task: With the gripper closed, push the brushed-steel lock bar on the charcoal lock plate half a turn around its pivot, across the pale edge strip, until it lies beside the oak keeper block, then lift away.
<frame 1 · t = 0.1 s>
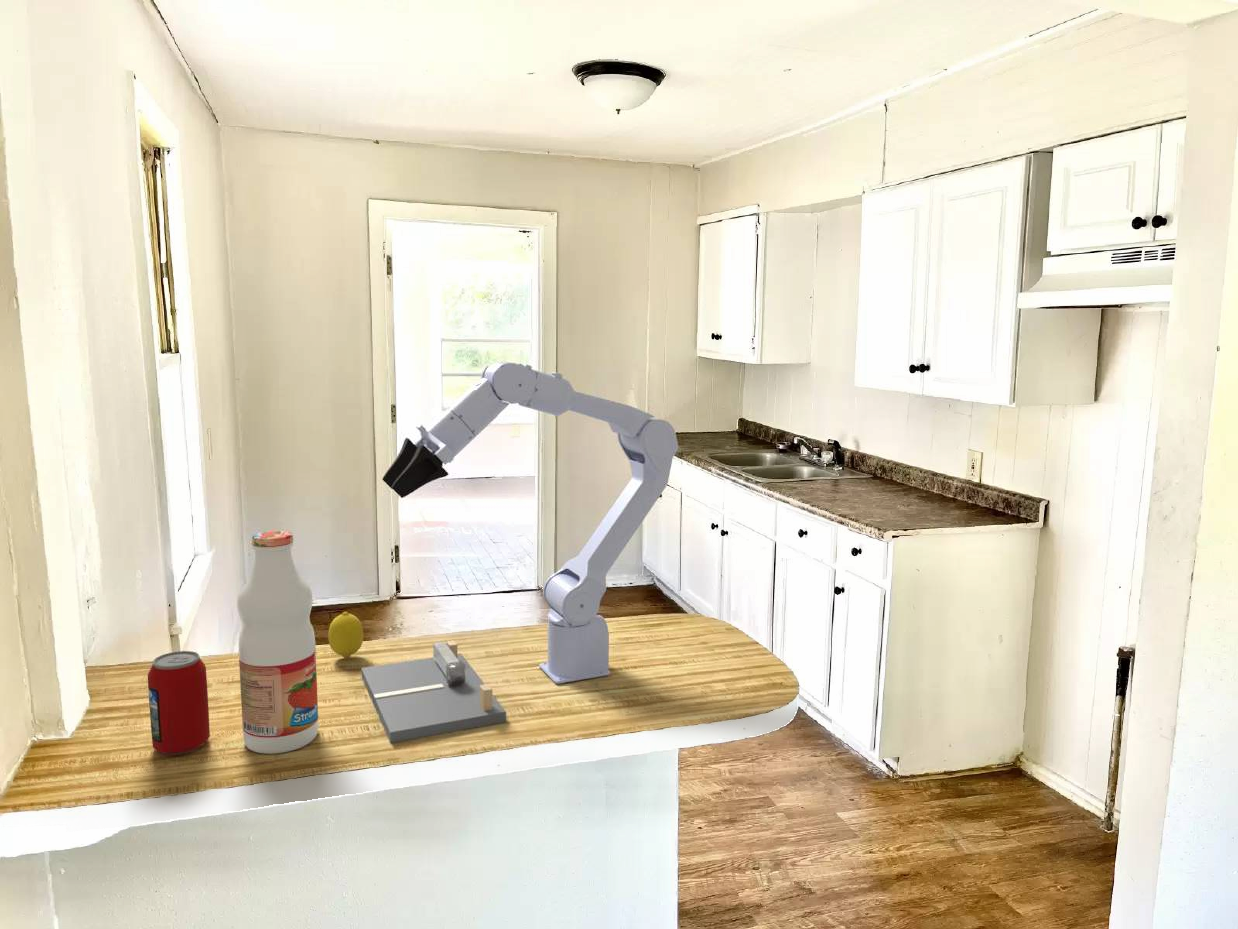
hand: (391, 488, 123), 32 cm above the countertop, tool tilted 50°, fingers open, 7 cm apart
lemon: (346, 659, 143), on the countertop
fruit juice: (281, 740, 115), on the countertop
beverage can: (182, 747, 113), on the countertop
lock plate: (429, 698, 129), on the countertop
lock bar: (448, 662, 134), point 3 cm above the countertop, hinge at 0.0°
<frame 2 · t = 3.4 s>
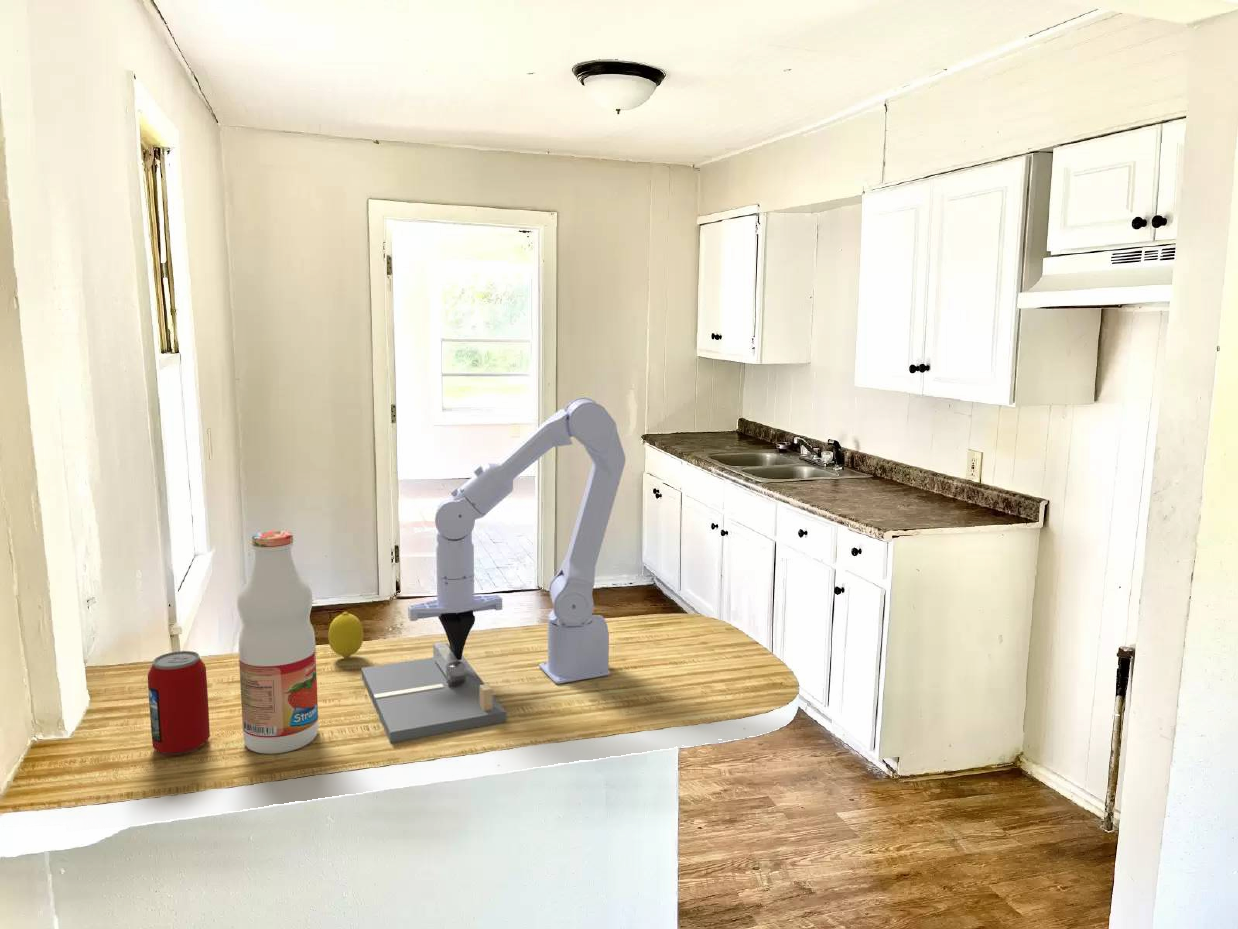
hand: (456, 658, 136), 3 cm above the countertop, tool pointing down, fingers closed
lock bar: (448, 662, 134), point 3 cm above the countertop, hinge at 0.1°, touching gripper
everything else where it was.
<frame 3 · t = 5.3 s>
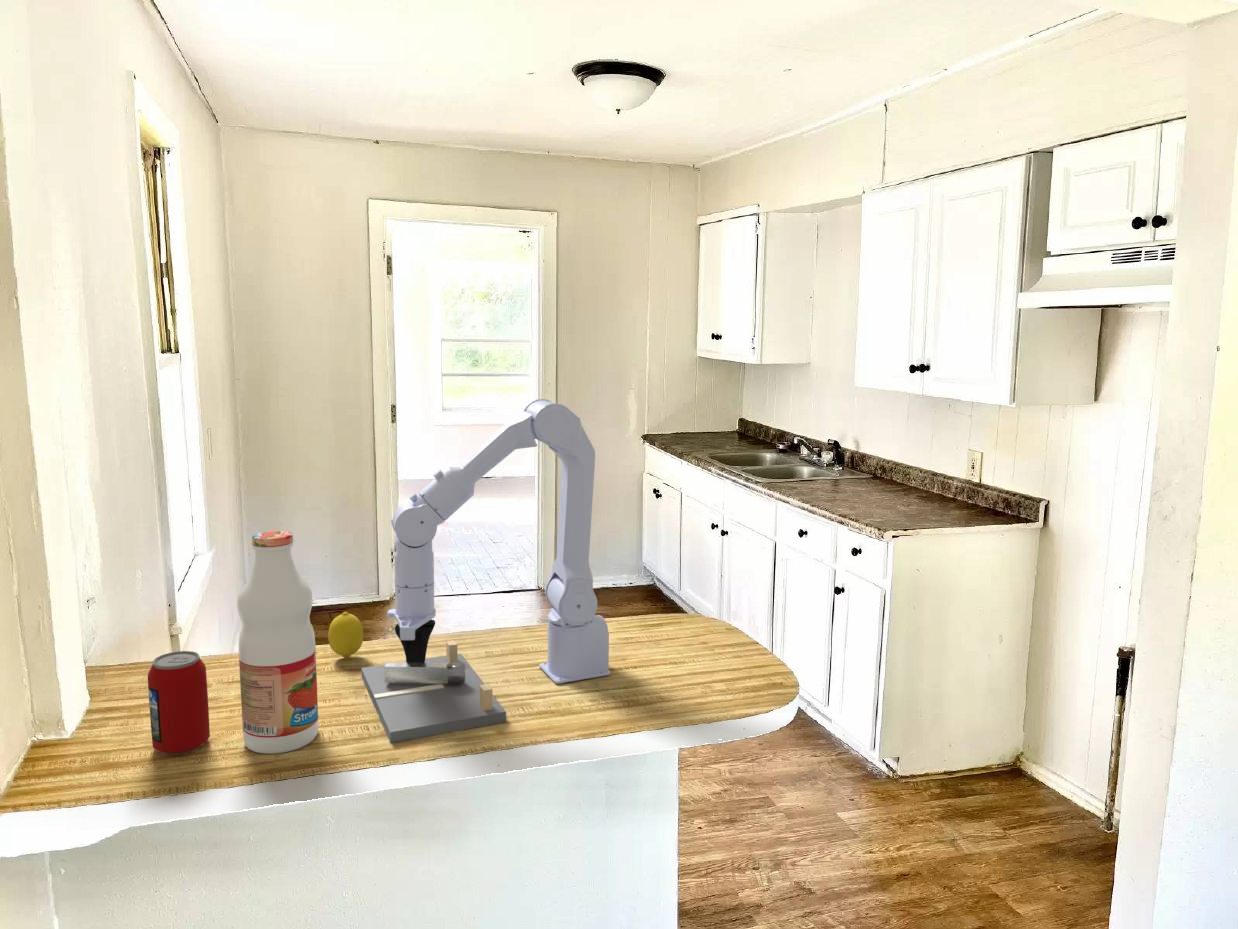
hand: (415, 669, 131), 3 cm above the countertop, tool pointing down, fingers closed, pressing on lock bar
lock bar: (425, 672, 130), point 3 cm above the countertop, hinge at 64.9°, touching gripper
everything else where it was.
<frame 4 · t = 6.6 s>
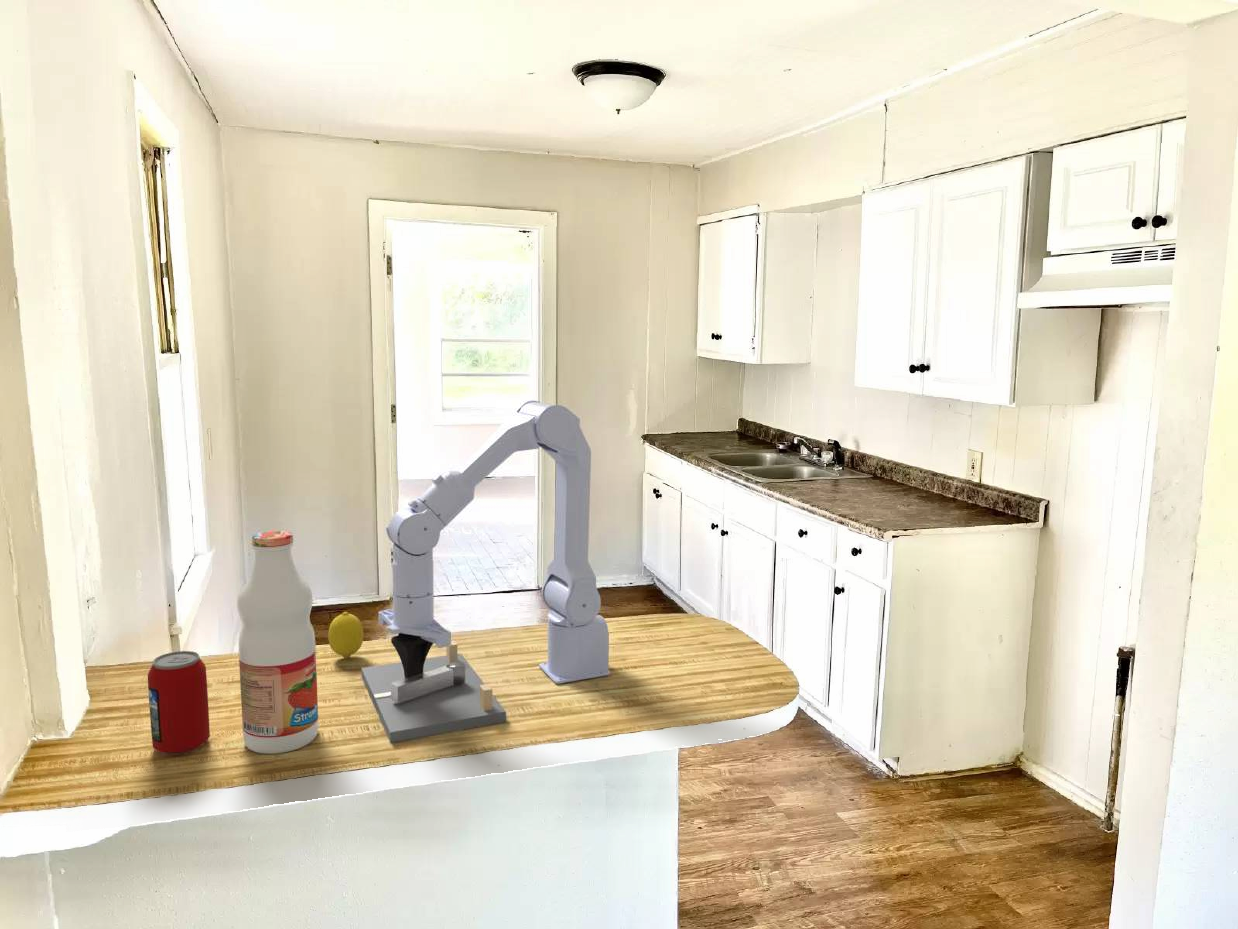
hand: (414, 682, 126), 3 cm above the countertop, tool pointing down, fingers closed, pressing on lock bar
lock bar: (430, 681, 127), point 3 cm above the countertop, hinge at 110.6°, touching gripper
everything else where it was.
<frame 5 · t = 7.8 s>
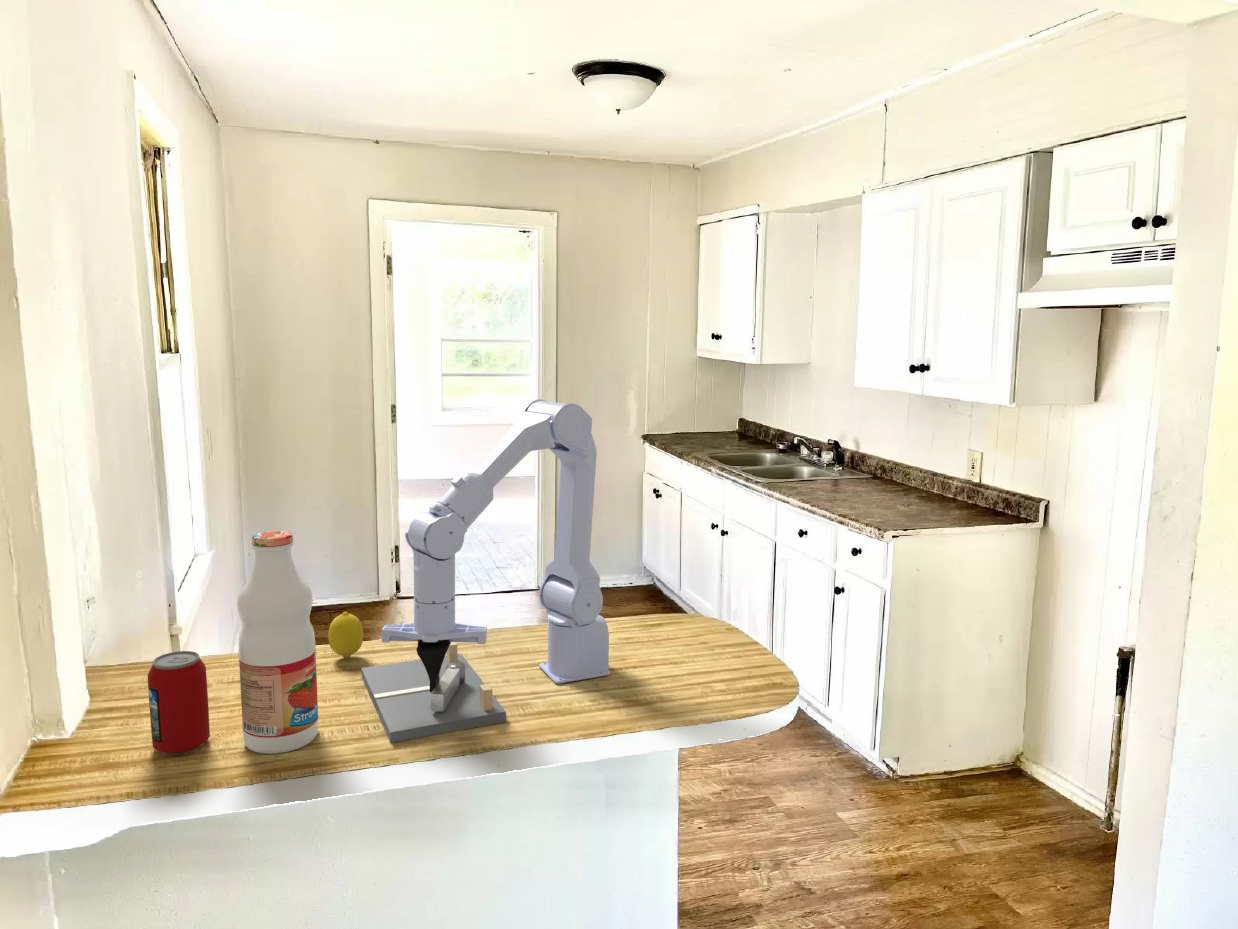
hand: (435, 689, 123), 3 cm above the countertop, tool pointing down, fingers closed, pressing on lock bar
lock bar: (448, 685, 125), point 3 cm above the countertop, hinge at 151.3°, touching gripper
everything else where it was.
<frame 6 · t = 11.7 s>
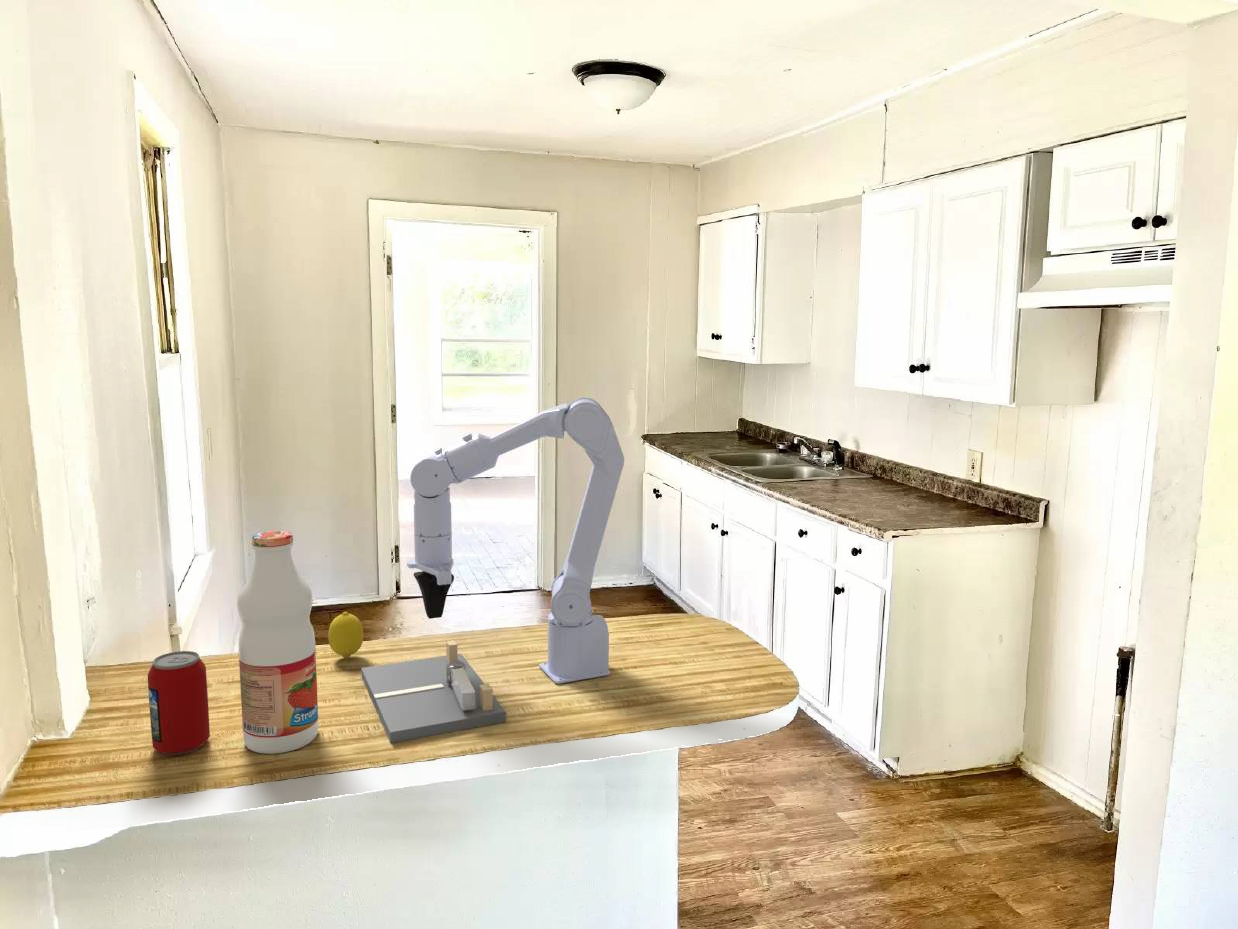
hand: (434, 616, 136), 9 cm above the countertop, tool pointing down, fingers closed
lock bar: (461, 685, 126), point 3 cm above the countertop, hinge at 175.2°
everything else where it was.
at the end: lock bar at +175° (first picture: +0°); lemon moved 0.2 cm from its start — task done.
